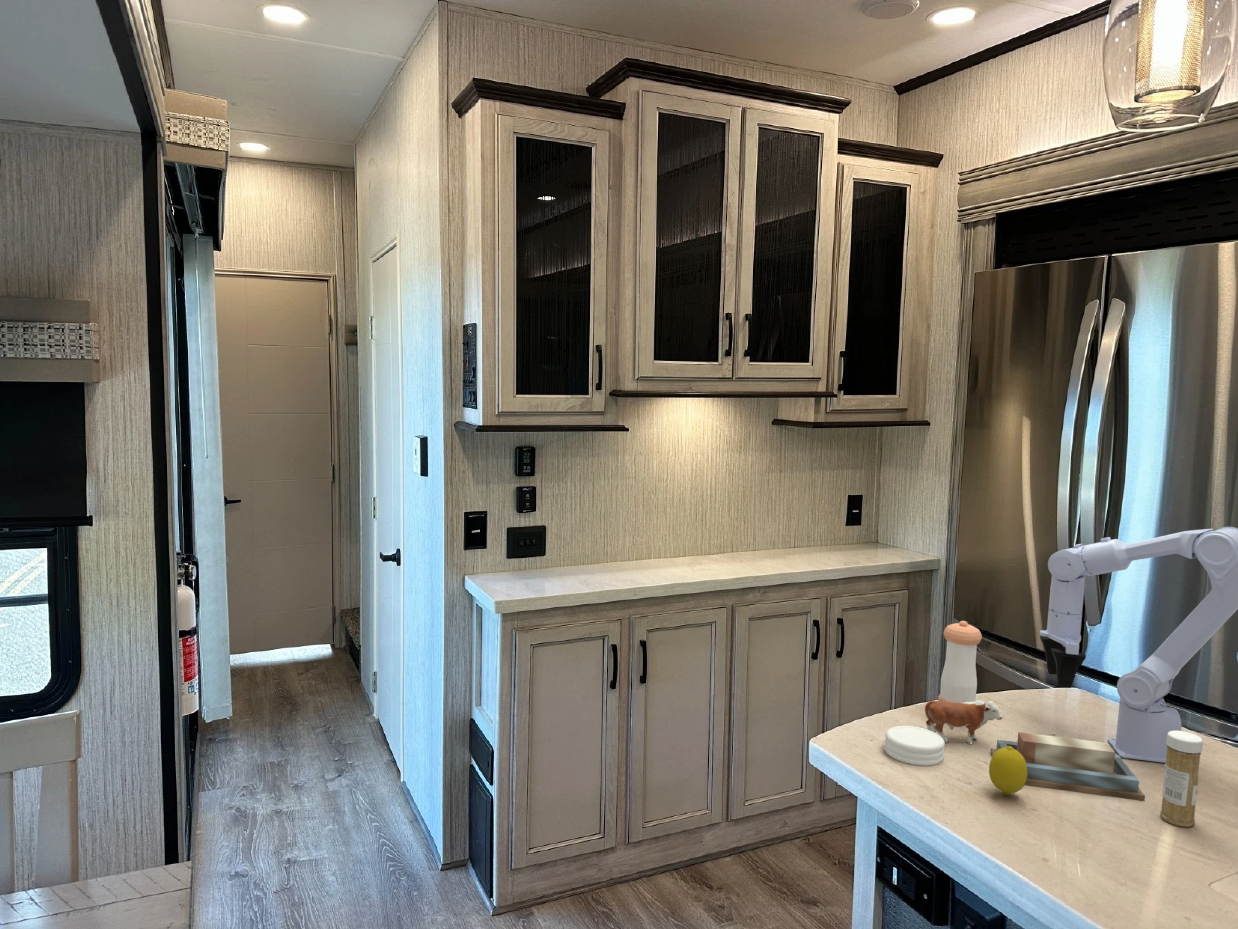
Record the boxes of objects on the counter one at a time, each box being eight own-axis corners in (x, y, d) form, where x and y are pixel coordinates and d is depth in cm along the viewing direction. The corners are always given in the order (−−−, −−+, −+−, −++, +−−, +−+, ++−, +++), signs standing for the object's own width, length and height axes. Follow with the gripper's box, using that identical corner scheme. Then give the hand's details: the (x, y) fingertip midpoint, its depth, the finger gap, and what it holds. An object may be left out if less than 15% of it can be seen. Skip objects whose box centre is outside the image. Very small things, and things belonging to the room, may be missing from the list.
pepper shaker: (982, 723, 169) (989, 627, 167) (944, 722, 169) (951, 625, 167) (967, 709, 176) (974, 617, 175) (931, 708, 176) (938, 615, 175)
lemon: (1023, 790, 141) (1027, 743, 140) (1026, 806, 136) (1031, 756, 135) (986, 784, 143) (989, 737, 142) (988, 799, 137) (992, 750, 137)
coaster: (938, 772, 147) (940, 752, 147) (878, 758, 152) (880, 739, 151) (947, 751, 156) (948, 732, 156) (890, 739, 161) (891, 720, 160)
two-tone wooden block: (1104, 771, 148) (1107, 742, 147) (1112, 781, 144) (1115, 752, 143) (1015, 760, 151) (1018, 732, 150) (1020, 769, 147) (1023, 741, 146)
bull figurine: (1002, 750, 157) (1005, 706, 156) (923, 741, 160) (927, 698, 159) (996, 740, 161) (1000, 697, 160) (920, 732, 164) (923, 690, 163)
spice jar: (1202, 827, 131) (1211, 740, 130) (1176, 829, 130) (1185, 742, 129) (1176, 812, 136) (1184, 728, 134) (1151, 814, 135) (1160, 730, 133)
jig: (1120, 769, 151) (1121, 753, 150) (1144, 800, 139) (1146, 783, 139) (990, 752, 156) (991, 737, 155) (1003, 781, 144) (1004, 765, 144)
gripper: (1034, 600, 174) (1028, 666, 176) (1051, 618, 160) (1045, 690, 162) (1072, 603, 173) (1066, 670, 174) (1093, 622, 159) (1087, 694, 160)
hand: (1059, 680), depth 168 cm, fingers open, 7 cm apart
